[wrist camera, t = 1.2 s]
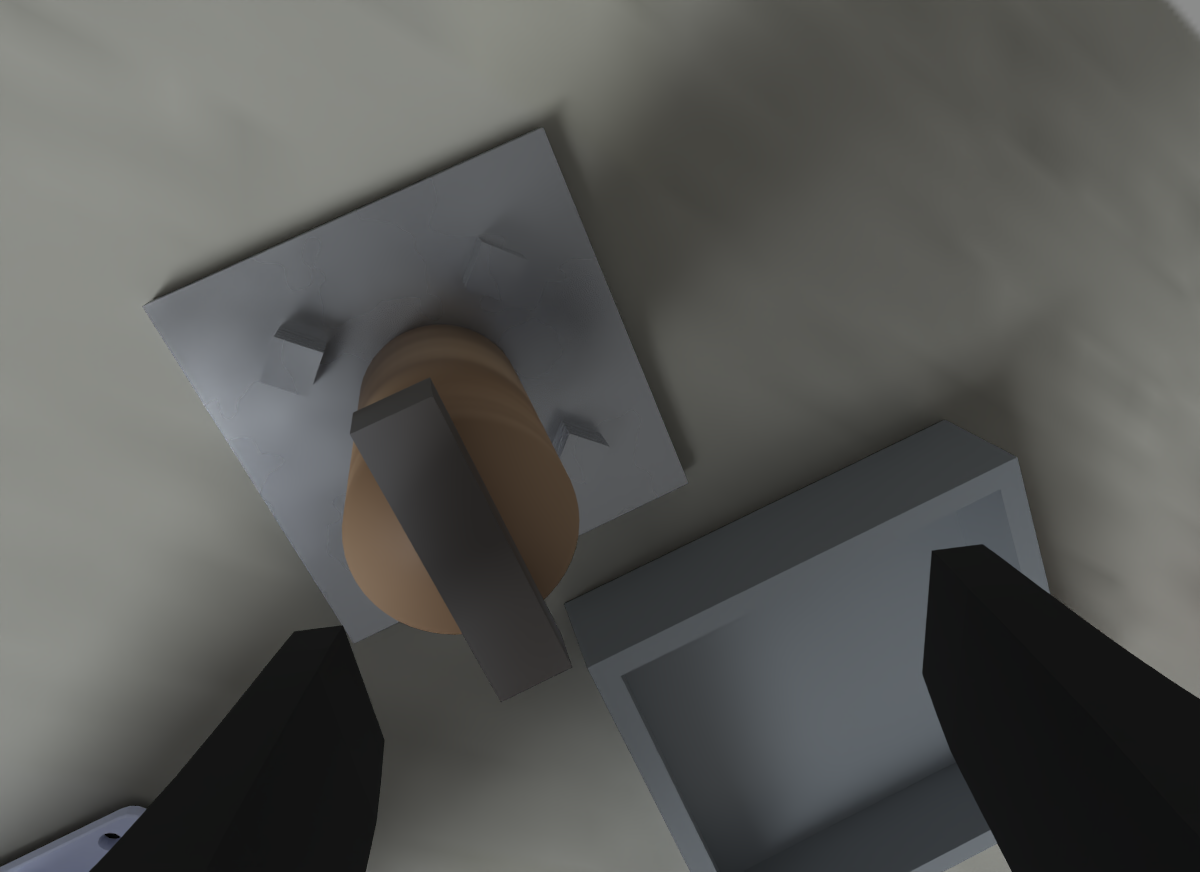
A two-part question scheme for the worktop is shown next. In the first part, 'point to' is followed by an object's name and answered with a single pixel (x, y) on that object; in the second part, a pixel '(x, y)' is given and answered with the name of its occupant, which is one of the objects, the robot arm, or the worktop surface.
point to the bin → (808, 666)
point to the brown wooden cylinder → (460, 503)
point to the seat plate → (404, 302)
